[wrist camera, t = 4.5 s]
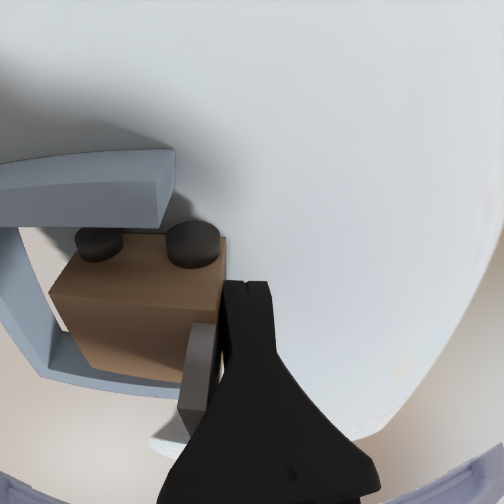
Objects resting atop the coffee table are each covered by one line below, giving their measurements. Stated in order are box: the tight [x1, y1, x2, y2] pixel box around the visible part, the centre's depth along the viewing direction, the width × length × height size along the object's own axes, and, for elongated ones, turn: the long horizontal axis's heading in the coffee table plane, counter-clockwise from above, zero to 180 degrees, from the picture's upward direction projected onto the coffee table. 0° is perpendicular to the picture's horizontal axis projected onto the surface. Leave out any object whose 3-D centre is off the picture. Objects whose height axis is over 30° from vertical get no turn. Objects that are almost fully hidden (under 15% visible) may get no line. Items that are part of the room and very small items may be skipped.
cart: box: [48, 222, 226, 437], centre depth 8 cm, size 5×5×6 cm
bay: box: [0, 149, 181, 399], centre depth 9 cm, size 10×8×2 cm
